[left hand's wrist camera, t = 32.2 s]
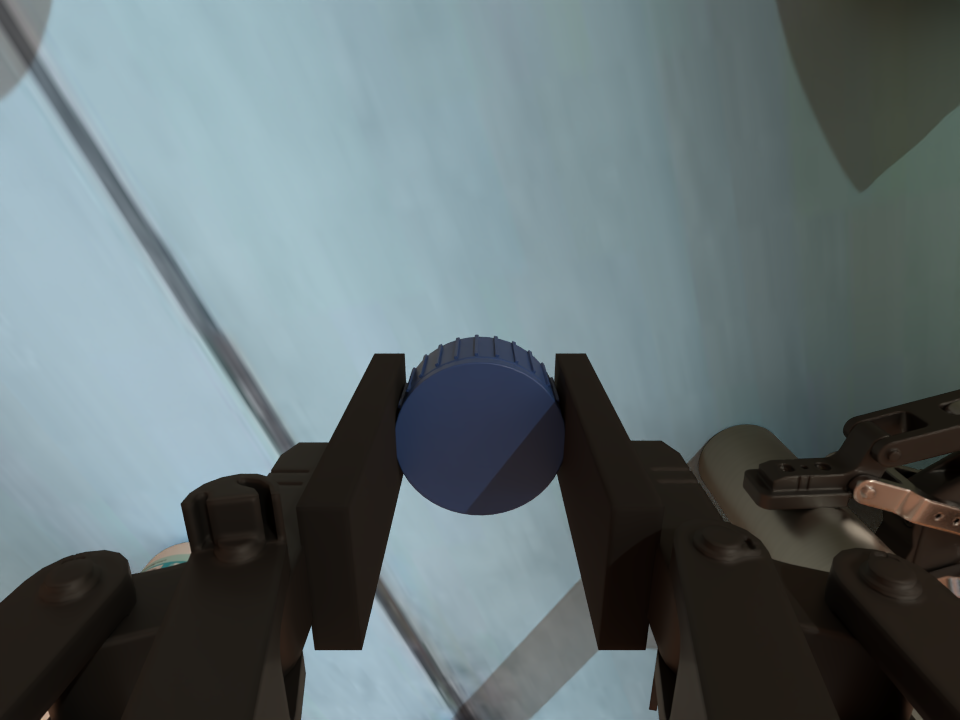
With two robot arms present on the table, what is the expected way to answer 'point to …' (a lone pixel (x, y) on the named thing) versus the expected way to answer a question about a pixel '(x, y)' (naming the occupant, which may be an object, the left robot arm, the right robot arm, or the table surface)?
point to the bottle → (782, 532)
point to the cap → (480, 427)
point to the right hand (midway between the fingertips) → (744, 538)
